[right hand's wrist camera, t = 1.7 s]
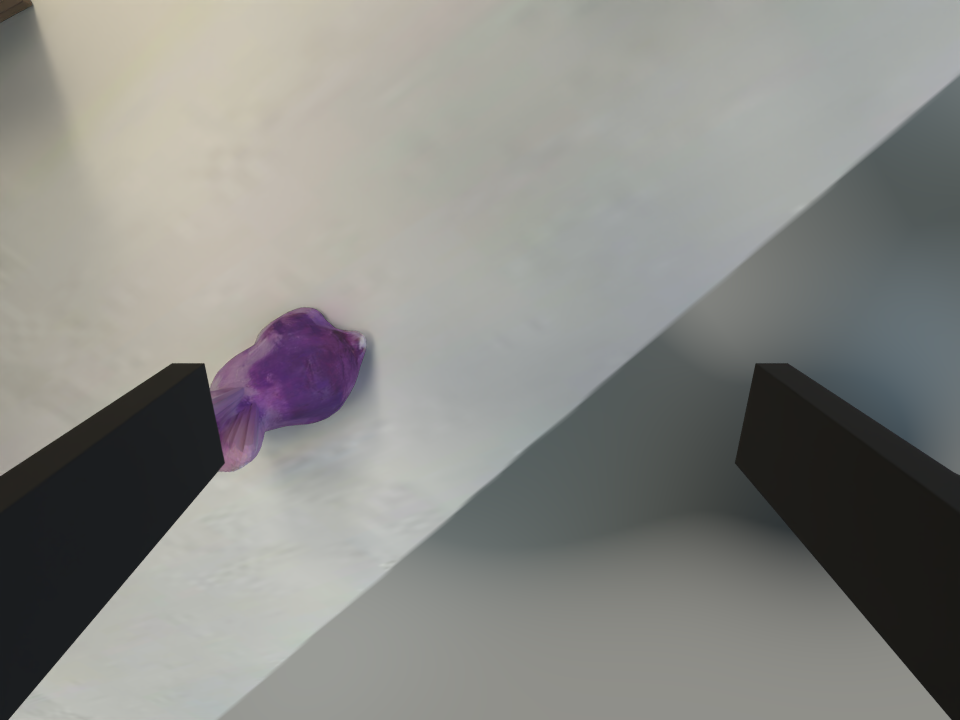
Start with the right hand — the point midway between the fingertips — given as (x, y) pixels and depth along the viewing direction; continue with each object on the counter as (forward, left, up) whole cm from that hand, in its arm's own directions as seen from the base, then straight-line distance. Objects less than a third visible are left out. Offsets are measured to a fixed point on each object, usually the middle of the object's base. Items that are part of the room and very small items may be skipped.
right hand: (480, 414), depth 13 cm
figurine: (+11, -13, -28) cm, 32 cm away
